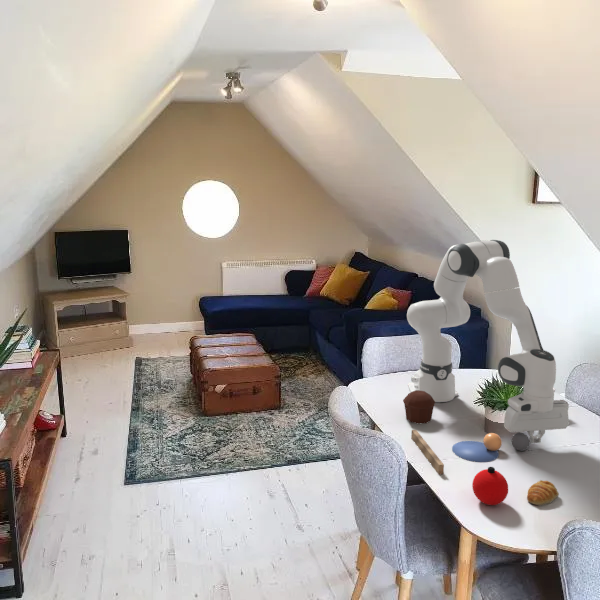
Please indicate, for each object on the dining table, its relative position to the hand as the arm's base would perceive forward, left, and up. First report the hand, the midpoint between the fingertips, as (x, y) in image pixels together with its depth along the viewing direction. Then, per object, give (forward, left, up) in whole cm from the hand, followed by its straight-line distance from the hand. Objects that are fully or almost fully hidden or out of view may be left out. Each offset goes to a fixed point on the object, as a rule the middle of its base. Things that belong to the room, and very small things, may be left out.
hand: (534, 442), depth 180 cm
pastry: (+28, -14, -2) cm, 31 cm away
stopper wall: (0, -36, -2) cm, 36 cm away
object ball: (0, -14, +1) cm, 14 cm away
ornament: (+28, -29, -2) cm, 40 cm away
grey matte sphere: (+1, -6, +1) cm, 6 cm away
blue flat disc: (0, -20, -2) cm, 20 cm away
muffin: (-27, -29, -2) cm, 40 cm away
